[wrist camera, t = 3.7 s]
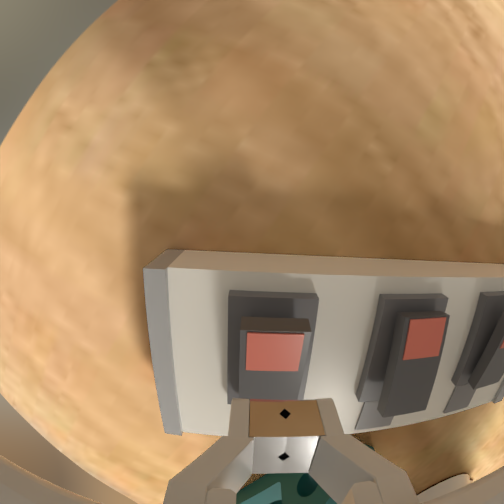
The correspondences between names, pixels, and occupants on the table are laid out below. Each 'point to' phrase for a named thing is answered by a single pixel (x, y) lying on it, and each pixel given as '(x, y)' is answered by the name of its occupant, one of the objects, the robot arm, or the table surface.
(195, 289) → the power strip
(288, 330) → the rocker
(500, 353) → the rocker
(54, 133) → the table surface
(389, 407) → the rocker
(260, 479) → the bracket
